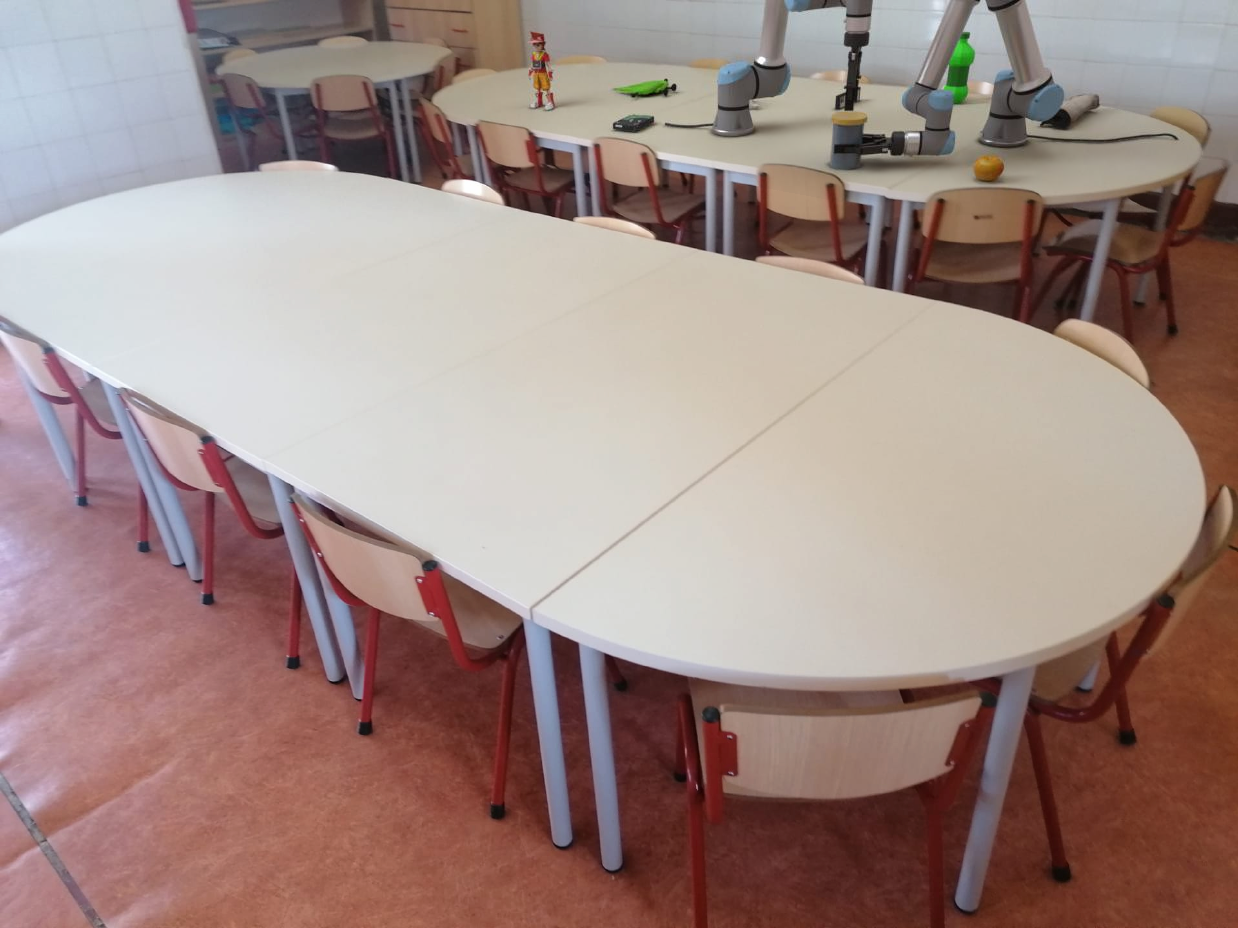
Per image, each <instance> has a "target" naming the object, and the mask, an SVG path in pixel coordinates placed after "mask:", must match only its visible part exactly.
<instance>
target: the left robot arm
mask: <svg viewBox="0 0 1238 928" xmlns="http://www.w3.org/2000/svg"><path fill="white" fill-rule="evenodd" d="M764 1H765V2H764V9H763V19H762V25H761V26H762V27H761V35H760V43H759V50H758V53H757V54H756V55H754V58H753V64H751V63H750V62H749V61H739V62H738V61H734V62H730V63H727V64H724V65H723V66H721V67H720V68H719V70H718V75H717V111H716V114H715V118H714V120H713V122H711V123H700V124H676V123H669V122H665V123H664V126H668V127H669V126H670V127H675V128H684V129H685V128H687V129H688V128H689V129H690V128H692V129H693V128H694V129H695V128H704V127H712V133H713V134H715V135H717V136H721V137H741V136H746V135H750V134H752V133H754V127H755V126H754V122H753V118H752V115H751V111H750V108H749V100H753V99H754V100H758V99H766V98H774V97H778V96H782V95H783V94H784V93H786V91H787V90H788V87H789V85H790V84H791V83H790V82H791V76H792V75H791V74H792V73H791V72H790V71H791V67H790V64H789V63H788V62H787V58H786V57H785V56H784V48H785V43H786V35H787V28H788V20H789V13H791V12H792V13H796V12H797V13H802V12H807V11H815V10H822V9H831V8H845V19H843V21H842V22H843V24H844V30H845V32H844V35H843V46H844V47H847V48H850V51H848V54H847V59H848V60H847V75H846V83H845V85H844V86H843V89H844V90H845V92H846V97H845V106H844V108H843V110H844V111H854V109H855V108H854V107H855V102H858V101H857V96H858V87H859V86H860V85H859V83H860V80H861V79H862V74H861V64H862V58H863V51H862V48H863V47H867V46H869V43H870V32H869V31H870V30H871V25H872V12H873V4H874V2H873V1H874V0H764ZM854 101H855V102H854ZM844 111H843V112H844Z"/></svg>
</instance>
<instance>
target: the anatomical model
mask: <svg viewBox="0 0 1238 928" xmlns="http://www.w3.org/2000/svg"><path fill="white" fill-rule="evenodd" d="M754 101H755V99H753V100H749V109H758V108H759V107H760V105H759V104H758V103H754Z"/></svg>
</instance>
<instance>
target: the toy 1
mask: <svg viewBox="0 0 1238 928" xmlns="http://www.w3.org/2000/svg"><path fill="white" fill-rule="evenodd" d="M529 33H530V35H531V36H528V37H527V38H528V39H529V40H528V41H527V43H529V44H530V43H531V44H532V48H533V50H534V51H533V52H532V55H531V58H530V59H531V63H530V66H528V74H527V75H528V76H527V77H528V79H529V80H531V75H532V74H533V84H532V85H533V86H532V87H533V88H534V89H535V90H536V92H534V95H535V97H536V100H535V101H533V102H531V105H530V108H531V109H535V108H538V107H542V106H544V101H543V100H544V99H543V95H544V92H546V94H545V97H546V99H547V103H546V104H545V106H544V110H546V111H549V110H553V109H554V107H555V106H556V105H555V99H554V92H551V91H550V90H551V86H552V84H551V82H552V81H553V80H554V77H553V73H554V71H555V70H554V69H552V68H551V63H550V61H551V59H550V58H551V57H550V54H549V53H548V52H547V50H546V48H545V46H546V44H547V41H545V35H544V33H543V32H542V33H539V32H535V31H529Z"/></svg>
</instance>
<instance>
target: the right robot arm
mask: <svg viewBox="0 0 1238 928" xmlns="http://www.w3.org/2000/svg"><path fill="white" fill-rule="evenodd" d="M980 2H981V0H949V2H948V4H947V6H946V8H945V11H944V13H943V16H942V18H941V20H940V23H939V25H938V28H937V30H936V32H935V35H934V37H933V39H932V41H931V44H930V47H929V49H928V51H927V53H926V56H925V58H924V60H923V63H922V65H921V68H920V70H919V72H918V74H917V77H916V80H915V82H914V84H913V86H911V87H909V88H907V89H906V91H904V93H903V95H902V98H901V104H902V107H903V108H904V109H905V110H906V111H908V112H909V113H911V114H913V115H916V116H919V117H921V118H923V119H925V121H924V122H925V124H924V130H906V131H903V130H894V131H892V133H891V136H890V137H888V136H886V133H865V132H864V133H863V143H862V144H861V145H859V144H858V143H856V147H855V144H834V154H836V153H855V154H857V155H858V156H860V155H861V156H870V155H880V154H883V155H885V154H886V155H888V154H890V156H892V157H901V156H903V155H904V156H909V157H910V158H913V156H935V157H939V156H949V155H951V154H952V153H953V152H954V150H955V145H956V132H955V130H951V129H950V128H951V126H950V125H951V121H952V113H953V109H954V104H955V103H953V101H954V94H953V92H952V91H949V90H943V89H939V87H940V84H941V83H942V80H943V77H944V76H945V73H946V72H947V70H948V67H949V62H950V60H951V57H952V55H953V53H954V51H955V48H956V46H957V44H958V43H959V39H960V37H961V35H962V33H963V32H964V30H965V28H966V25H967V23H968V22H969V20H970V17H971V15H972V13H973V10H974V8H975V7H976V6H978V5H980ZM985 4H986V7H987V9H988V11H989V12H991V13H994V14H995V17H996V20H997V24H998V27H999V31H1000V34H1001V37H1002V40H1003V43H1004V46H1005V51H1006V54H1007V56H1008V59H1009V63H1010V66H1011V69H1004V70H1000V71H998V72H997V73H996V75H995V78H994V82H993V89H992V95H991V101H990V107H989V112H988V118H987V120H986V122H985V123H984V126H983V128H982V130H980V131H979V135H978V136H979V138H978V141H979V142H980V143H981V144H983V145H986V146H990V147H996V148H1015V147H1020V146H1023V145H1025V144H1026V143H1027V140H1028V138H1030V139H1039V140H1047V141H1056V142H1078V143H1079V142H1081V143H1107V142H1109V143H1110V142H1117V141H1124V140H1132V139H1140V138H1156V137H1157V138H1158V137H1171V138H1173V139H1174V140H1175V141H1179V140H1180V139H1179V138H1178V136H1176V135H1174V134H1173V133H1167V132H1165V133H1152V134H1150V133H1149V134H1138V135H1132V136H1131V135H1130V136H1123V137H1116V138H1108V139H1107V138H1105V139H1087V138H1061V137H1060V138H1059V137H1049V136H1042V135H1032V134H1028V133H1027V122H1026V119H1028V120H1030V121H1031V122H1043V121H1046V120H1048V119H1050V118H1052V117H1053V116H1054V115H1055V114H1056V113H1057V112H1058V111H1059V109H1060V106H1061V105H1062V104H1063V103H1064V102H1065V101H1064V100H1065V91H1064V89H1063V87H1062V86H1061V85H1060V84H1058V83H1055V81H1054V78H1053V74H1052V71H1051V69H1050V68H1049V67H1045V66H1044V63H1043V58H1042V55H1041V52H1040V48H1039V44H1038V40H1037V37H1036V34H1035V30H1034V26H1033V22H1032V19H1031V15H1030V12H1029V8H1028V4H1027V1H1026V0H985Z"/></svg>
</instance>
